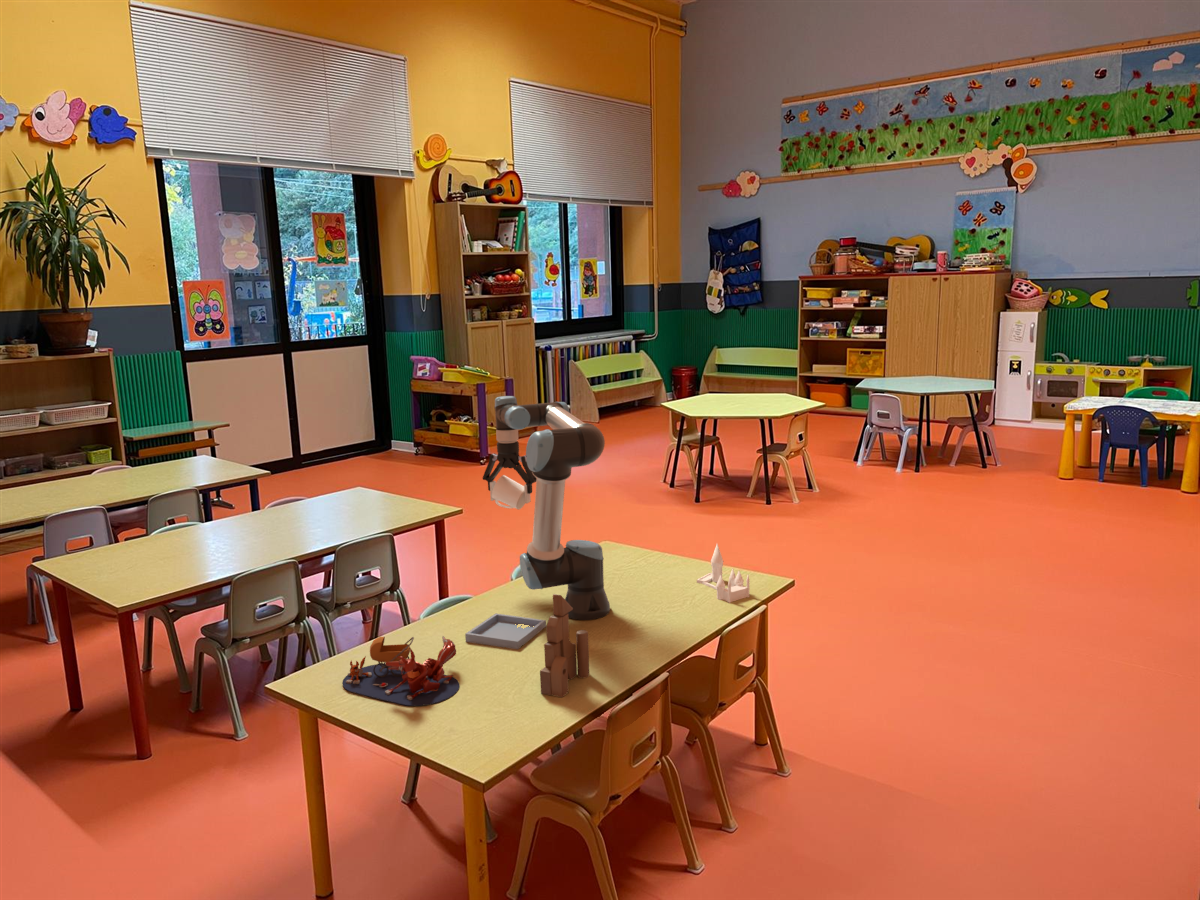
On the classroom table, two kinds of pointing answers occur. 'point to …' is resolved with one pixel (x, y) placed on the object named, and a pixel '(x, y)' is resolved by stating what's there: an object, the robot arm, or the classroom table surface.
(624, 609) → the classroom table surface
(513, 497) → the mug
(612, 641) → the classroom table surface
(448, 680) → the toy playset
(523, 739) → the classroom table surface
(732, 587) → the toy castle
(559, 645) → the wooden toy
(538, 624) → the tray
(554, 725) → the classroom table surface
